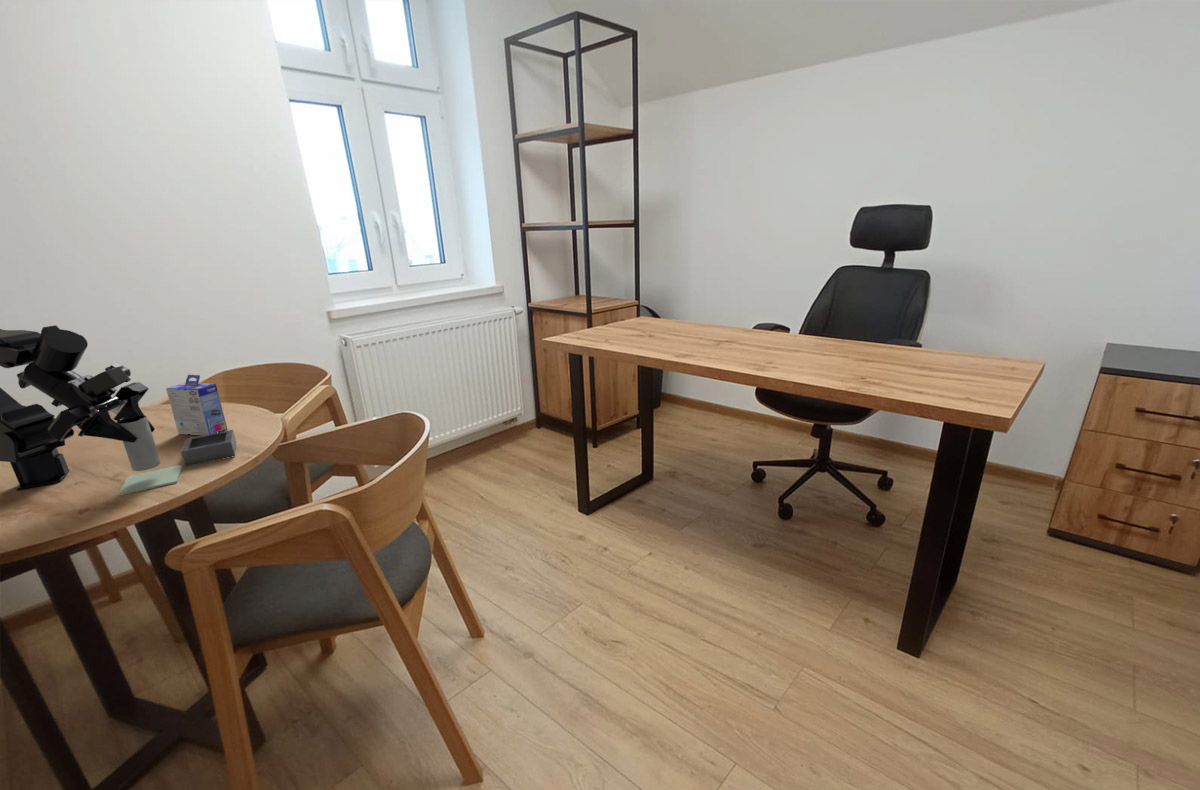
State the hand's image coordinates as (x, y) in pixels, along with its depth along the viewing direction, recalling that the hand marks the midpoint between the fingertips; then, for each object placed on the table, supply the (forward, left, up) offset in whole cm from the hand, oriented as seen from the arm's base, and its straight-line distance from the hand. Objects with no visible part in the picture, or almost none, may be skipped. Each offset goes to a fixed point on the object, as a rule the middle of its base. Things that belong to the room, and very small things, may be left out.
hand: (144, 435), depth 104 cm
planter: (-1, +1, -7) cm, 7 cm away
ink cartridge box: (+5, +28, -10) cm, 30 cm away
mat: (-1, 0, -10) cm, 10 cm away
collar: (+8, +9, -10) cm, 16 cm away
